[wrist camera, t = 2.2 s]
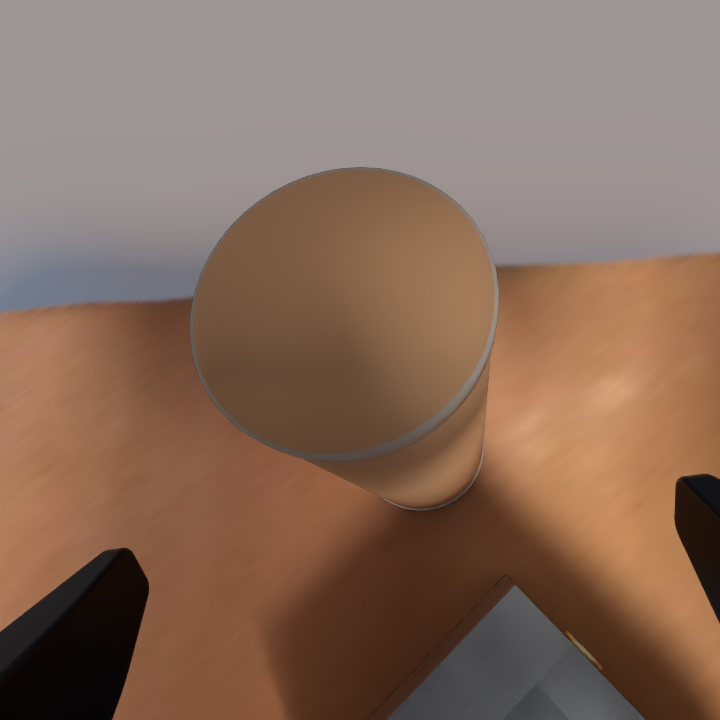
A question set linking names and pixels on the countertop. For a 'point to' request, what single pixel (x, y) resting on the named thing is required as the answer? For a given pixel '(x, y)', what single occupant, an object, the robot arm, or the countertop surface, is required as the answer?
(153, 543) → the countertop surface
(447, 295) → the tan lidded canister
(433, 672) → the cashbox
